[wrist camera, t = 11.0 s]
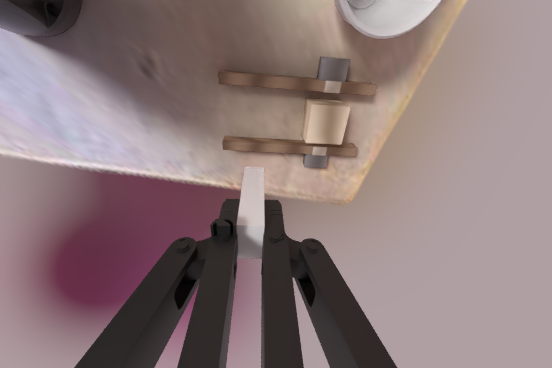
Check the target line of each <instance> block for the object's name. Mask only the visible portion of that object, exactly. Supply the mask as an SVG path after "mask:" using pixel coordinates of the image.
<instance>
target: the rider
mask: <svg viewBox="0 0 552 368" xmlns="http://www.w3.org/2000/svg"><path fill="white" fill-rule="evenodd" d="M350 109H351V107H350V106H349V105H347V104H346V103H344V102H343V101H341V100H329V99H314V98H306V102H305V109H304V116H303V123H302V130H301V134H302V136H303V138H304V140H305V142H306V143H318V144H338V145H341V144H342V140H343V136H344V132H345V128H346V125H347V121H348V117H349V113H350Z"/></svg>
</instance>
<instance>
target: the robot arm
mask: <svg viewBox="0 0 552 368" xmlns="http://www.w3.org/2000/svg"><path fill="white" fill-rule="evenodd" d="M81 1H82V0H0V28H2V29H5V30H8V31H11V32H15V33H19V34H24V35H33V36H53V35H57V34H60V33H63V32H65V31H66V30H68V29H69V28H70V27H71V26H72V25H73V24H74V22H75V21H76V19H77V17H78V15H79V11H80V7H81ZM210 226H211V235H212V236H211V237H209V238H207V239H205V240H202V241H198V242H196V241H195V240H194V239H192V238H190V237H189V238H188V237H184V238H180V239H178V240H176V241H174V242H173V243H172V244H171V245H170V247H169V248H168V249H167V250H166V252H165V253H164V254H163V255H162V257H161V258H160V259H159V261H158V262H157V263H156V264H155V266H154V267H153V268H152V269H151V271H150V272H149V273H148V275H147V276H146V277H145V278H144V280H143V281H142V282H141V284H140V285H139V286H138V287H137V289H136V290H135V291H134V292H133V294H132V295H131V296H130V298H129V299H128V300H127V301H126V303H125V304H124V305H123V306H122V308H121V309H120V310H119V311H118V313H117V314H116V315H115V317H114V318H113V319H112V320H111V322H110V323H109V324H108V325H107V327H106V328H105V329H104V331H103V332H102V333H101V335H100V336H99V337H98V338H97V339H96V341H95V342H94V343H93V345H92V346H91V347H90V349H89V350H88V351H87V352H86V353H85V355H84V356H83V357H82V359H81V360H80V361H79V362H78V364H77V365H76V366H75V367H74V368H154V367H155V365H156V363H157V361H158V360H159V358H160V356H161V354H162V352H163V350H164V348H165V346H166V345H167V343H168V341H169V339H170V337H171V335H172V333H173V331H174V329H175V328H176V326H177V324H178V322H179V320H180V318H181V316H182V314H183V313H184V311H185V309H186V307H187V305H188V303H189V301H190V299H191V297H192V295H193V294H194V292H195V290H196V288H197V286H198V284H199V287H198V291H197V295H196V299H195V302H194V306H193V310H192V314H191V318H190V321H189V325H188V329H187V333H186V337H185V340H184V344H183V348H182V352H181V356H180V359H179V363H178V367H177V368H226V361H227V352H228V343H229V333H230V325H231V316H232V307H233V298H234V289H235V280H236V271H237V258H256V259H257V258H258V259H262V271H261V274H262V318H261V321H262V322H261V324H262V325H261V327H262V329H261V334H262V335H261V340H262V341H261V368H304V367H303V359H302V351H301V343H300V335H299V327H298V319H297V312H296V304H295V296H294V288H293V281H292V277H294V278H295V281H296V283H297V286H298V288H299V291H300V293H301V295H302V298H303V301H304V303H305V306H306V308H307V311H308V313H309V316H310V318H311V321H312V323H313V326H314V328H315V331H316V333H317V336H318V338H319V341H320V343H321V346H322V348H323V351H324V353H325V356H326V358H327V361H328V363H329V366H330V368H397V367H396V365H395V363H394V362H393V360H392V359H391V357H390V356H389V354H388V352H387V350H386V349H385V347H384V345H383V344H382V342H381V341H380V339H379V337H378V336H377V334H376V332H375V330H374V329H373V327H372V325H371V324H370V322H369V320H368V319H367V317H366V316H365V314H364V312H363V311H362V309H361V307H360V306H359V304H358V302H357V301H356V299H355V297H354V296H353V294H352V292H351V291H350V289H349V287H348V286H347V284H346V282H345V281H344V279H343V278H342V276H341V274H340V273H339V271H338V269H337V268H336V266H335V264H334V263H333V261H332V259H331V258H330V256H329V254H328V253H327V251H326V250H325V248H324V246H323V245H322V244H321V242H319V241H318V240H315V239H305V240H303V241H302V242H298V241H295V240H292V239H291V238H289V237H288V236H287V235H286V233H285V230H284V223H283V215H282V206H281V204H280V202H279V201H278V200H264V167H245V170H244V177H243V184H242V190H241V198H240V199H226V201H225V202H224V203H223V205H222V208H221V212H220V216H219V218H218V219H216V220H215V221H213V222H212V224H211V225H210ZM199 282H200V283H199Z"/></svg>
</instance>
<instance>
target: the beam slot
mask: <svg viewBox="0 0 552 368" xmlns="http://www.w3.org/2000/svg"><path fill="white" fill-rule="evenodd" d="M349 63H350V59H341V58H330V57H320V62H319V68H318V74H317V78H305V77H293V76H281V75H268V74H256V73H244V72H232V71H220V72H218V76H219V84H230V85H243V86H256V87H269V88H282V89H295V90H308V91H321V92H326V93H347V94H360V95H375V92H376V89H377V86H378V85H376V84H373V83H366V82H354V81H345V80H346V76H347V72H348V67H349ZM223 150H240V151H260V152H280V153H300V154H304V159H303V164H304V167H310V168H325V167H326V163H327V158H328V155H339V156H356V154H357V150H358V148H357V147H356V146H355V145H354V144H353V143H342V144H341V145H338V144H318V143H306V142H305V141H300V140H282V139H264V138H246V137H228V136H225V137H224V139H223Z"/></svg>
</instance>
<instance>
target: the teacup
mask: <svg viewBox="0 0 552 368" xmlns="http://www.w3.org/2000/svg"><path fill="white" fill-rule="evenodd" d="M334 1H335V5H336V7H337V10H338V12H339V14H340V15H341V17H342V18H343V19H344V20H345V21H346V22H348V23H349V24H351V25H352V26H353V27H354V28H355V29H357V30H358V31H359V32H360V33H362V34H364V35H366V36H369V37H372V38H377V39H388V38H394V37H397V36H401V35H403V34H405V33H407V32H409V31H411V30H412V29H414V28H416V27H417V26H418V25H419V24H421V23H422V22H423V21H424V20H425V19H426V18H427V17H428V16H430V14H431V13H432V12H433V11H434V10H435V9H436V8H437V6H438V5H439V4H440V2H441V1H442V0H334Z"/></svg>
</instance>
